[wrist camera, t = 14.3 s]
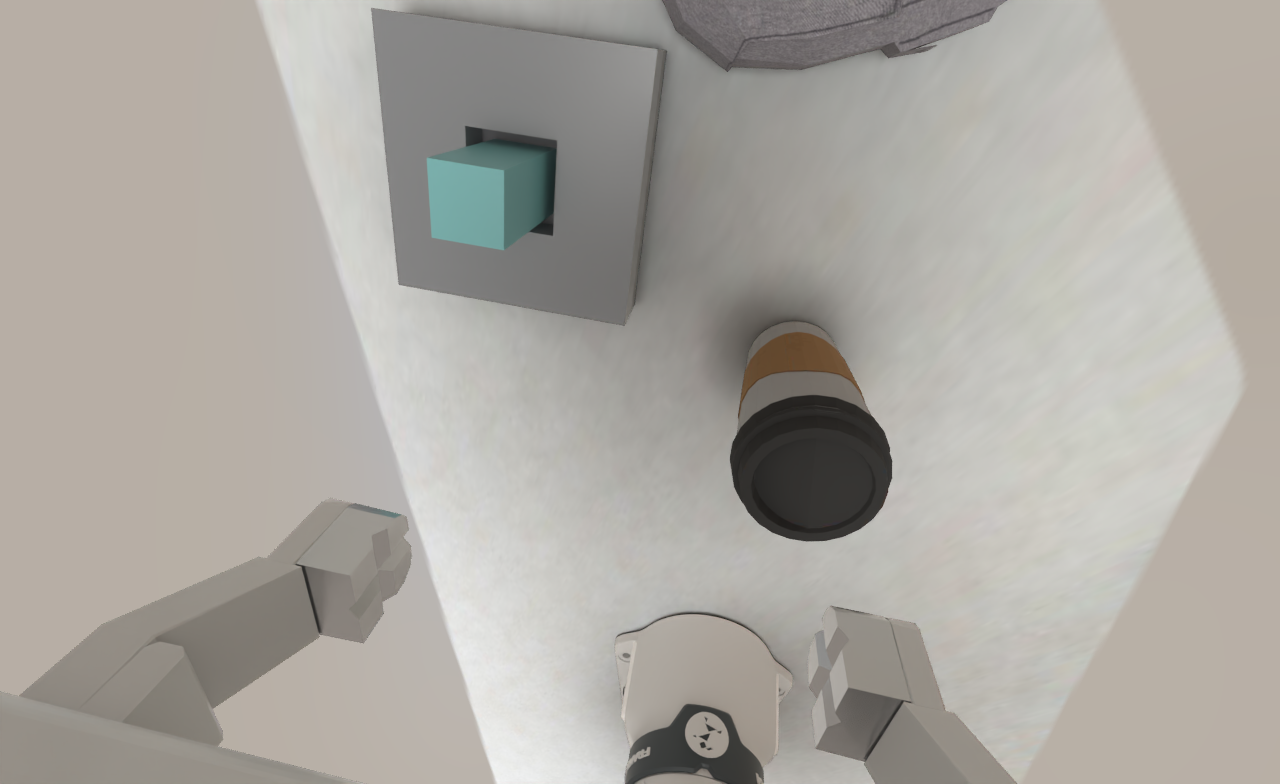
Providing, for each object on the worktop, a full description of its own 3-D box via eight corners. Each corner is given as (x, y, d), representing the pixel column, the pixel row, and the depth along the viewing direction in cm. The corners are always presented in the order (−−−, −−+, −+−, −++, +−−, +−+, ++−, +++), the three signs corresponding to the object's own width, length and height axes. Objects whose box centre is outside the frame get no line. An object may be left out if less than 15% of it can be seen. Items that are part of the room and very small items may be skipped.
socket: (634, 304, 41) (624, 325, 38) (426, 267, 43) (398, 284, 39) (666, 51, 33) (657, 48, 30) (408, 14, 34) (371, 7, 31)
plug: (553, 213, 37) (503, 250, 30) (495, 203, 38) (431, 237, 30) (556, 148, 35) (504, 170, 28) (495, 138, 36) (426, 157, 28)
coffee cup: (733, 405, 44) (728, 543, 31) (734, 305, 40) (729, 416, 27) (844, 408, 43) (887, 553, 30) (857, 303, 39) (913, 420, 26)
